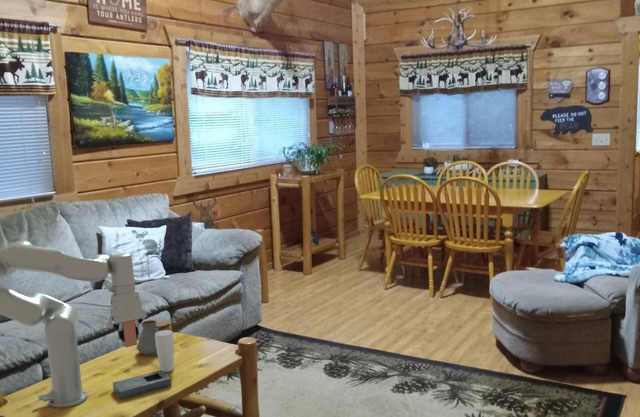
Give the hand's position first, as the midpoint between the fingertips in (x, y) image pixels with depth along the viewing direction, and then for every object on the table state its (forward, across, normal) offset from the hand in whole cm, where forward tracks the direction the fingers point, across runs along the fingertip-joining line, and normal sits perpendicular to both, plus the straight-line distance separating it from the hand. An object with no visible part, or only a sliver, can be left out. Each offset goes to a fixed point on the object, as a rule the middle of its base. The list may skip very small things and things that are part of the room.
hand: (129, 338), depth 221 cm
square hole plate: (+20, +3, 0) cm, 20 cm away
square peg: (+2, 0, 0) cm, 2 cm away
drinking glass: (+20, +16, +11) cm, 28 cm away
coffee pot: (+20, +18, +30) cm, 41 cm away
